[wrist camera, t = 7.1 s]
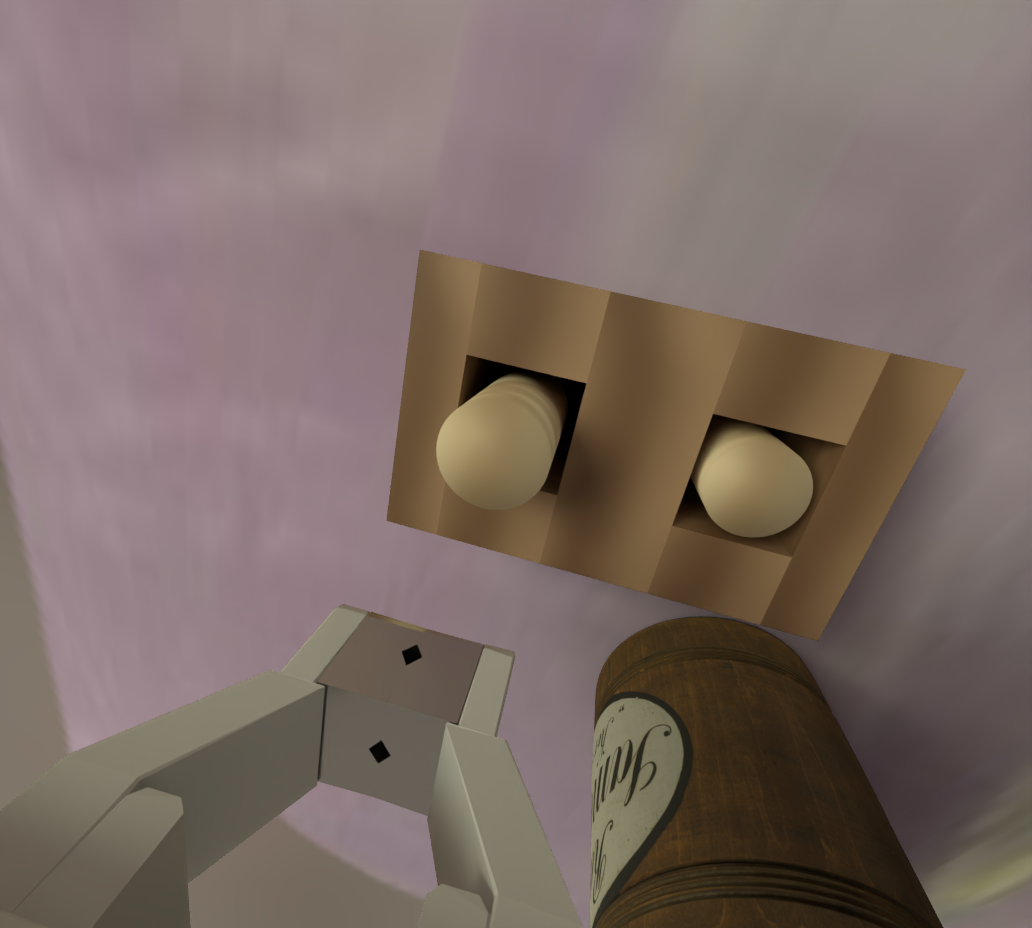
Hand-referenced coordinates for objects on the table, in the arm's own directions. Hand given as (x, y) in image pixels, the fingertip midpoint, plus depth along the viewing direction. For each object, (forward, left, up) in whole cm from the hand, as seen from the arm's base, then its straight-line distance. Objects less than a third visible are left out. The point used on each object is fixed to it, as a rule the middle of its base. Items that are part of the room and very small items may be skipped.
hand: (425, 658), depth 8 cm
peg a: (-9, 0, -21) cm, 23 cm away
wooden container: (-15, +19, -22) cm, 33 cm away
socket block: (-4, 0, -22) cm, 22 cm away
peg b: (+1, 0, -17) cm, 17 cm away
